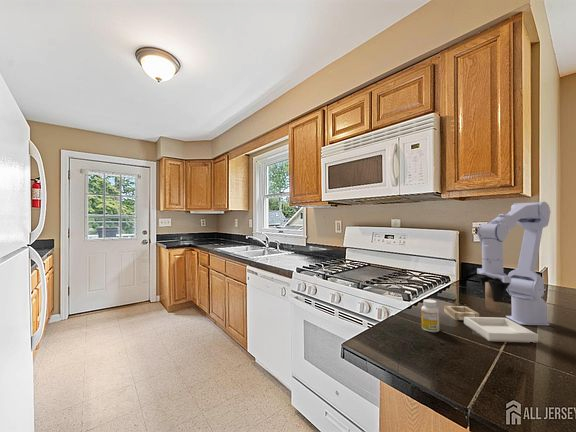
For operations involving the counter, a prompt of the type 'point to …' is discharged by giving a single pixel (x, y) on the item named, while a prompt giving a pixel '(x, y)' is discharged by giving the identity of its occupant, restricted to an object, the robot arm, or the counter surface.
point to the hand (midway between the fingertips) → (493, 299)
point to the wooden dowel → (490, 299)
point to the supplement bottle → (430, 316)
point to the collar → (460, 312)
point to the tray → (500, 329)
